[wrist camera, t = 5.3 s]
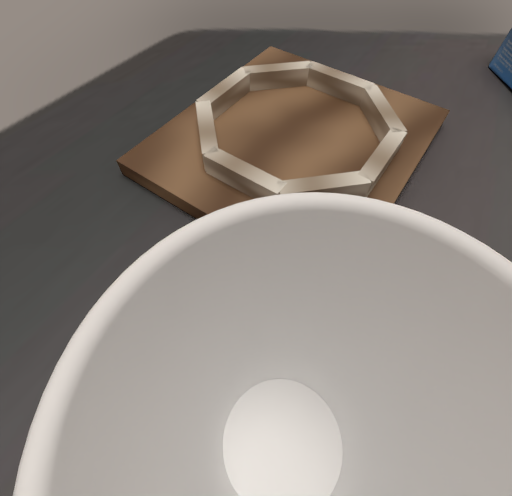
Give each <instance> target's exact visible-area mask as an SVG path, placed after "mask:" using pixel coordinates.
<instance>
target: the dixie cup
mask: <svg viewBox="0 0 512 496" xmlns="http://www.w3.org/2000/svg"><path fill="white" fill-rule="evenodd" d="M13 496H512V262H510V261H509V260H508V259H506V258H505V257H503V256H502V255H500V254H499V253H497V252H496V251H494V250H493V249H491V248H490V247H488V246H487V245H485V244H483V243H482V242H480V241H478V240H476V239H475V238H473V237H471V236H469V235H468V234H466V233H464V232H462V231H460V230H458V229H456V228H454V227H452V226H450V225H448V224H446V223H444V222H442V221H440V220H437V219H435V218H433V217H430V216H428V215H425V214H423V213H420V212H418V211H415V210H412V209H409V208H406V207H403V206H400V205H396V204H393V203H389V202H385V201H381V200H377V199H372V198H367V197H362V196H356V195H348V194H339V193H323V192H305V193H288V194H279V195H272V196H267V197H261V198H256V199H252V200H248V201H244V202H241V203H237V204H234V205H231V206H228V207H225V208H222V209H220V210H217V211H214V212H212V213H210V214H208V215H205V216H203V217H201V218H199V219H197V220H195V221H193V222H191V223H189V224H187V225H186V226H184V227H182V228H180V229H178V230H177V231H175V232H174V233H172V234H171V235H169V236H167V237H166V238H164V239H163V240H161V241H160V242H158V243H157V244H156V245H155V246H153V247H152V248H151V249H149V250H148V251H147V252H146V253H144V254H143V255H142V256H140V257H139V258H138V259H137V260H136V261H135V262H134V263H133V264H132V265H131V266H129V267H128V268H127V269H126V270H125V271H124V272H123V273H122V274H121V275H120V276H119V277H118V278H117V279H116V280H115V282H114V283H113V284H112V285H111V286H110V287H109V288H108V289H107V290H106V291H105V292H104V294H103V295H102V296H101V297H100V299H99V300H98V301H97V302H96V304H95V305H94V306H93V307H92V309H91V310H90V311H89V312H88V314H87V315H86V317H85V318H84V320H83V321H82V323H81V324H80V326H79V327H78V329H77V330H76V332H75V333H74V335H73V336H72V338H71V340H70V341H69V343H68V345H67V347H66V348H65V350H64V352H63V354H62V356H61V357H60V359H59V361H58V363H57V365H56V367H55V369H54V371H53V373H52V375H51V377H50V380H49V382H48V384H47V386H46V388H45V390H44V392H43V395H42V397H41V400H40V403H39V405H38V408H37V411H36V413H35V416H34V419H33V421H32V424H31V427H30V430H29V433H28V437H27V440H26V444H25V447H24V451H23V454H22V457H21V461H20V464H19V469H18V474H17V479H16V483H15V488H14V493H13Z"/></svg>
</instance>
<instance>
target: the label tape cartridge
mask: <svg viewBox="0 0 512 496" xmlns="http://www.w3.org/2000/svg"><path fill="white" fill-rule="evenodd" d="M489 68H490V69H491V70H492V71H493V72H494V73H495V74H496V75H497V76H498V77H499V78H500V79H501V80H502V81H504V82H505V83H506V84H507V85H508V86H509V87H510V88H511V89H512V29H511V30H510V32H509V33H508V35H507V36H506V38H505V40H504V41H503V43H502V45H501V46H500V48H499V49H498V51H497V53H496V54H495V56H494V57H493V59H492V61H491V62H490V64H489Z"/></svg>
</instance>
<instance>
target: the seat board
mask: <svg viewBox="0 0 512 496" xmlns="http://www.w3.org/2000/svg"><path fill="white" fill-rule="evenodd" d="M449 111H450V110H447V109H444V108H441V107H439V106H436V105H433V104H430V103H428V102H425V101H422V100H419V99H416V98H414V97H411V96H408V95H405V94H402V93H400V92H397V91H394V90H391V89H388V88H386V87H383V86H380V85H377V84H375V83H372V82H369V81H367V80H364V79H361V78H358V77H355V76H353V75H350V74H347V73H344V72H341V71H339V70H336V69H333V68H330V67H327V66H325V65H322V64H319V63H316V62H313V61H310V60H308V59H305V58H302V57H299V56H296V55H294V54H291V53H288V52H285V51H282V50H280V49H277V48H274V47H271V46H270V47H269V48H268V49H266V50H265V51H264V52H262V53H261V54H260V55H258V56H257V57H256V58H254V59H253V60H251V61H250V62H249V63H247V64H246V65H245V66H243V67H241V68H239V69H238V70H237V71H235V72H234V73H233V74H231V75H230V76H229V77H227V78H226V79H224V80H223V81H222V82H220V83H219V84H218V85H216V86H215V87H214V88H212V89H211V90H210V91H208V92H207V93H205V94H204V95H203V96H201V97H200V98H199V99H197V100H196V102H195V103H193V104H192V105H191V106H189V107H188V108H187V109H185V110H184V111H183V112H181V113H180V114H179V115H177V116H176V117H174V118H173V119H172V120H170V121H169V122H168V123H166V124H165V125H164V126H162V127H161V128H160V129H158V130H157V131H156V132H154V133H153V134H151V135H150V136H149V137H147V138H146V139H145V140H143V141H142V142H141V143H139V144H138V145H137V146H135V147H134V148H133V149H131V150H130V151H129V152H127V153H126V154H124V155H123V156H122V157H120V158H119V159H118V160H116V161H117V163H118V165H119V167H120V169H121V172H122V174H123V175H125V176H127V177H128V178H130V179H132V180H133V181H135V182H137V183H138V184H140V185H142V186H143V187H145V188H147V189H148V190H150V191H152V192H153V193H155V194H157V195H158V196H160V197H161V198H163V199H165V200H166V201H168V202H170V203H171V204H173V205H175V206H176V207H178V208H180V209H181V210H183V211H185V212H186V213H188V214H190V215H191V216H193V217H195V218H196V219H199V218H201V217H203V216H205V215H208V214H210V213H212V212H214V211H217V210H220V209H222V208H225V207H228V206H231V205H234V204H237V203H241V202H244V201H248V200H252V199H256V198H261V197H267V196H272V195H279V194H288V193H305V192H323V193H339V194H348V195H356V196H362V197H367V198H372V199H377V200H381V201H385V202H389V203H393V204H394V203H395V201H396V199H397V198H398V196H399V194H400V193H401V191H402V190H403V188H404V186H405V185H406V183H407V181H408V180H409V178H410V176H411V175H412V173H413V171H414V170H415V168H416V166H417V165H418V163H419V161H420V160H421V158H422V156H423V155H424V153H425V151H426V150H427V148H428V146H429V145H430V143H431V141H432V140H433V138H434V137H435V135H436V133H437V132H438V130H439V128H440V127H441V125H442V123H443V122H444V120H445V118H446V116H447V115H448V113H449Z"/></svg>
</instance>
